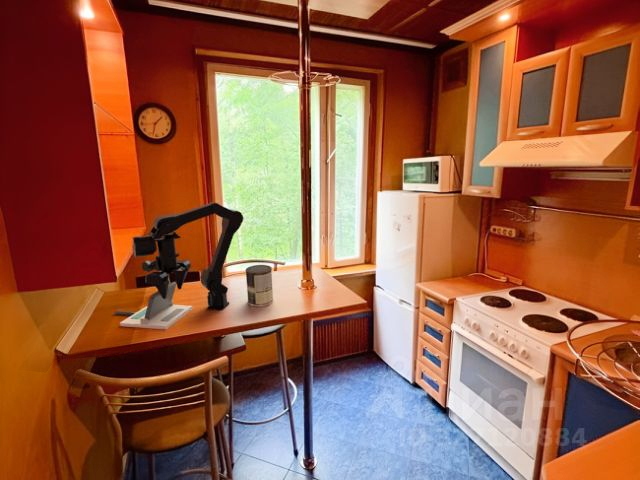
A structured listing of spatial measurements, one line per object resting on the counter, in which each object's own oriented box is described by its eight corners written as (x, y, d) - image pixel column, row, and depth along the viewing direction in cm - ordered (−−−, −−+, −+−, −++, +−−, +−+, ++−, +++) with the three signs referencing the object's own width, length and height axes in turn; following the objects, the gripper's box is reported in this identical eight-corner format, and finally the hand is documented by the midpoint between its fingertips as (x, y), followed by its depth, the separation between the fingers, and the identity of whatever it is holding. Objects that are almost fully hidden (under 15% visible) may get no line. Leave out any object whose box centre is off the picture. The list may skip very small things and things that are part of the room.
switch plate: (192, 308, 134) (192, 301, 134) (166, 329, 118) (165, 321, 118) (131, 304, 139) (130, 298, 139) (98, 324, 123) (96, 316, 122)
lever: (171, 305, 135) (177, 282, 132) (146, 322, 121) (153, 296, 118) (167, 303, 135) (174, 280, 132) (142, 320, 121) (149, 294, 118)
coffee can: (243, 305, 136) (241, 271, 133) (253, 296, 146) (251, 264, 143) (268, 307, 134) (266, 273, 131) (276, 297, 144) (275, 265, 141)
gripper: (162, 245, 131) (167, 283, 135) (127, 258, 113) (134, 302, 117) (189, 245, 129) (193, 285, 133) (158, 259, 111) (164, 304, 115)
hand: (172, 293), depth 125 cm, fingers open, 9 cm apart
